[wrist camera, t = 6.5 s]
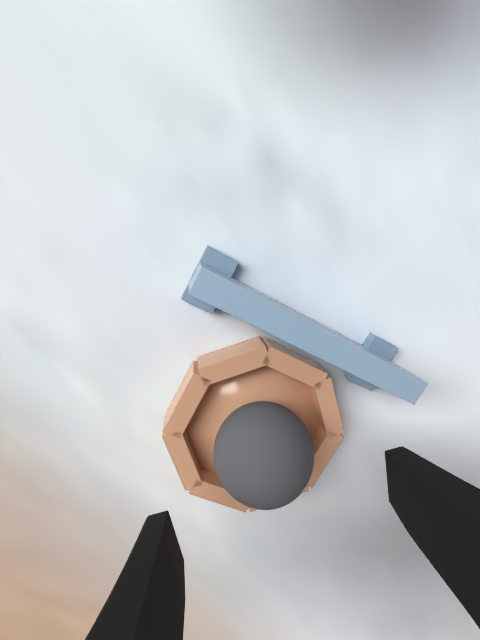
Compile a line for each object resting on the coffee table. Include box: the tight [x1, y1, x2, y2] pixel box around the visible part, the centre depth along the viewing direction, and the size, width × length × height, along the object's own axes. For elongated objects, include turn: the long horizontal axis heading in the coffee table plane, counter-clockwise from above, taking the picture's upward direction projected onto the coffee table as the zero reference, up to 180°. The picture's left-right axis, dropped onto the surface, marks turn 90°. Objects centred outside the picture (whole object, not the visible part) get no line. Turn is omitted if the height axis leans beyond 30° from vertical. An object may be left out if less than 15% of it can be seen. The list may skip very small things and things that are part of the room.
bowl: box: [162, 337, 344, 512], centre depth 15 cm, size 8×8×1 cm
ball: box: [213, 401, 314, 510], centre depth 13 cm, size 4×4×4 cm
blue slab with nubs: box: [181, 245, 428, 404], centre depth 13 cm, size 10×2×3 cm, turn 62°
